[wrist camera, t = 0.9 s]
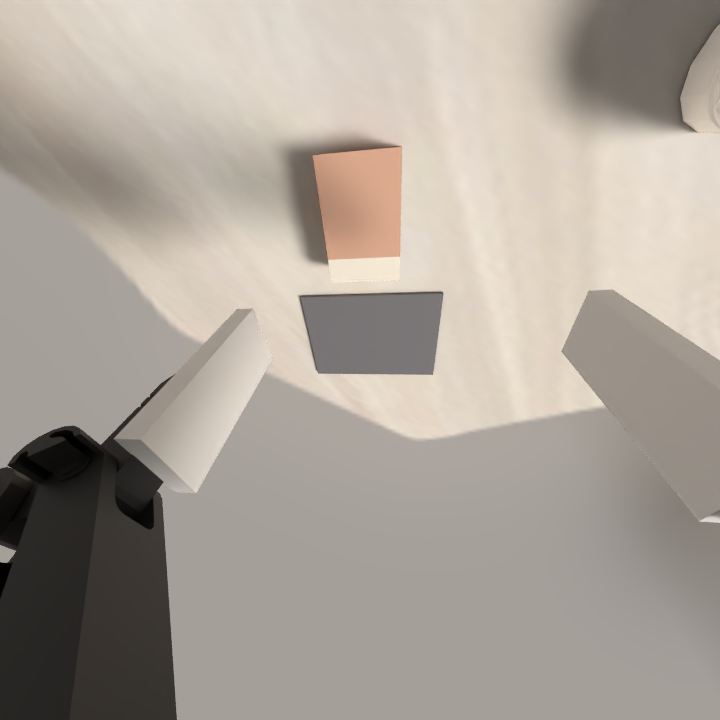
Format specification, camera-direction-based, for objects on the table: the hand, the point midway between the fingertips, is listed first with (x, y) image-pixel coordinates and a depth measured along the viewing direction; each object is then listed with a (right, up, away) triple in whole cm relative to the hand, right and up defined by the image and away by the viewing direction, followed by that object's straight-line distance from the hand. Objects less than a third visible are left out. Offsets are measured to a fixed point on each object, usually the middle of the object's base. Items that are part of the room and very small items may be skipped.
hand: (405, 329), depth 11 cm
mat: (-1, +1, +20) cm, 20 cm away
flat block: (-1, +12, +12) cm, 17 cm away
